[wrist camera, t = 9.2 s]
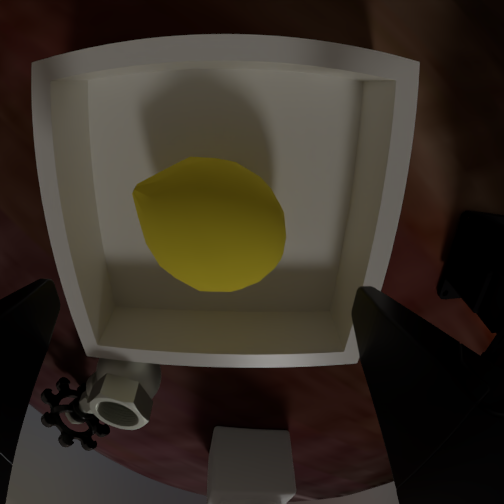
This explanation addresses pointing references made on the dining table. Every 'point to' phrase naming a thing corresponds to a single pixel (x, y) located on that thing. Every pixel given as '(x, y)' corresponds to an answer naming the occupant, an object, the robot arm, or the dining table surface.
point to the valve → (104, 400)
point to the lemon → (211, 223)
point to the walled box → (233, 149)
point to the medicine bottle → (250, 467)
